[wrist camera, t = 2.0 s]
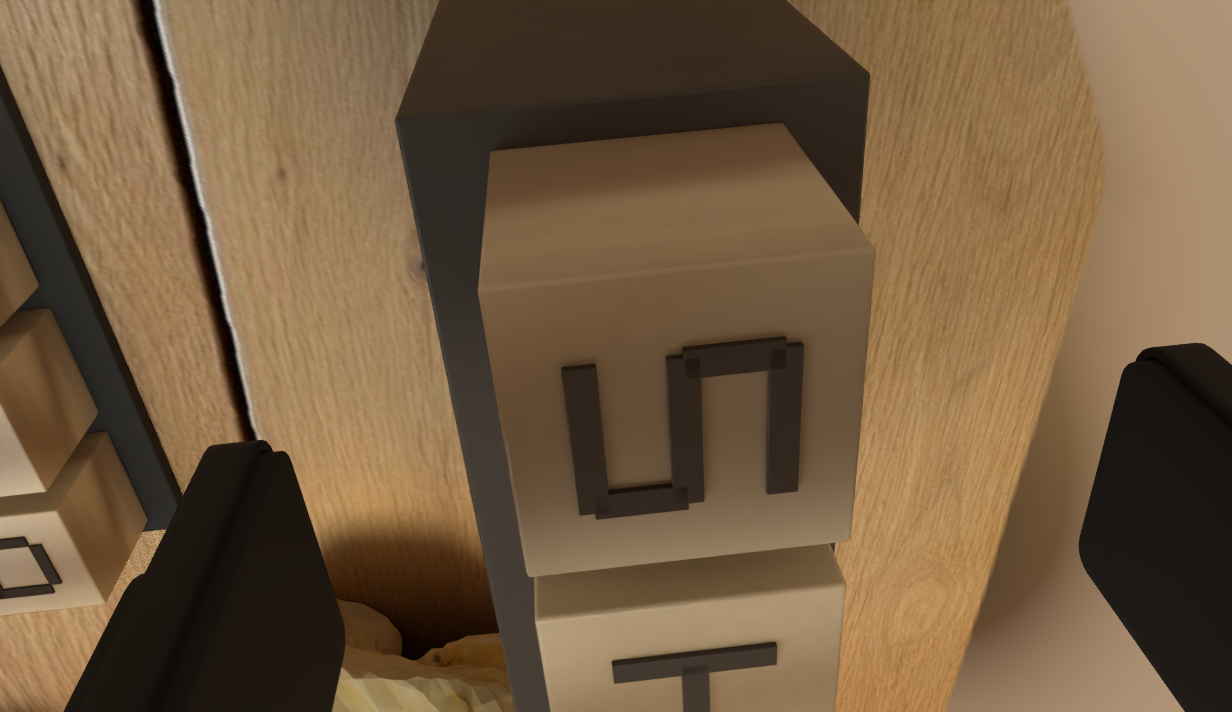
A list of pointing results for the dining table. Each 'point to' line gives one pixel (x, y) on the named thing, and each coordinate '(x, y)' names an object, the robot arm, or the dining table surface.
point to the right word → (451, 249)
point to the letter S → (674, 346)
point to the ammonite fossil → (417, 671)
